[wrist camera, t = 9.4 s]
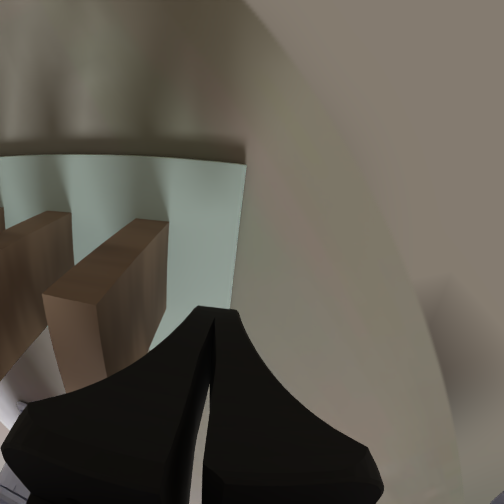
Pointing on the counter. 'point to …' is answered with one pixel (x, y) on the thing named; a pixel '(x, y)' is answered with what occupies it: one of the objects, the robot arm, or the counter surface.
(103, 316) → the domino
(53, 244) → the domino
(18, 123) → the counter surface
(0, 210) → the domino
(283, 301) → the counter surface
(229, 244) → the board
